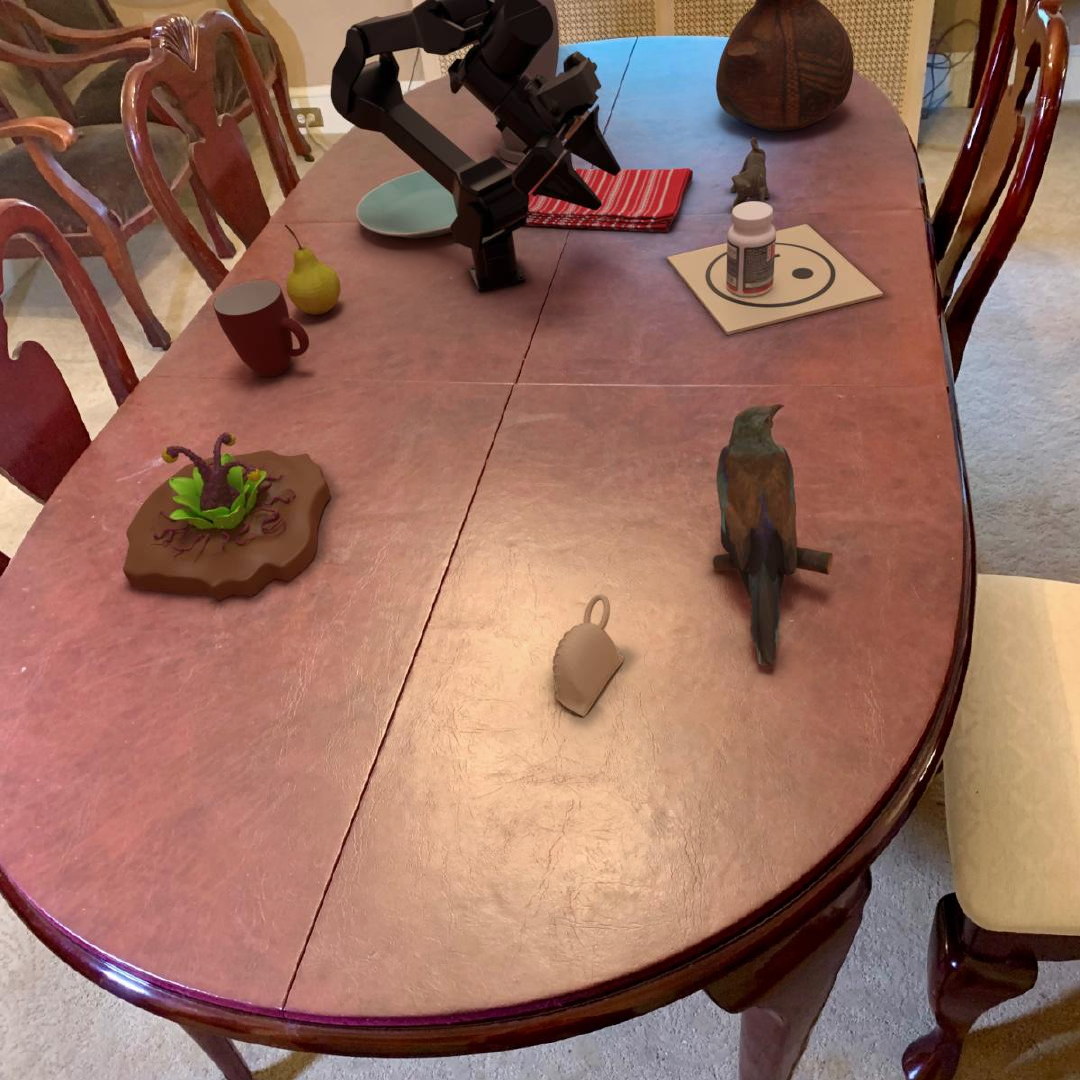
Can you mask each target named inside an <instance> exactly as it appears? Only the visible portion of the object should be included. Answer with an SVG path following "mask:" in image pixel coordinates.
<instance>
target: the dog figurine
mask: <svg viewBox="0 0 1080 1080" xmlns="http://www.w3.org/2000/svg"><path fill="white" fill-rule="evenodd" d="M750 146H751V148H752V149H751V150H750V151H749V153H748V154H747V156H745V159H744V162H743V165H742V168H741V169H740V171H738V174H735V175H733V176H732V177H731V181H732V183H733V185H732V186H731V187H730V192H731V193H735V192H736V193H737V195H736V197H735V199H734V200H733V204H732V206H731V208H730V211H731V212H732V211H733V208H734V207H735V206H737V205H739V204H741V203H744V202H747V200H748V198H749V199H754V198H755V197H756V196H758V198H759V199H758V202H763V203H765V199H770V198H771V194H770V192H769V188H768V185H767V184H768V183H767V182H768V181H767V166H766V159H767V158H766V152H765V150H764V149H762V148H760V146H759V142H758V140H757V138H756V137H755V136H752V137H751V138H750Z"/></svg>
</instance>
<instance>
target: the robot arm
mask: <svg viewBox="0 0 1080 1080" xmlns="http://www.w3.org/2000/svg"><path fill="white" fill-rule="evenodd" d="M552 33H553V20H552V17H551V14H550V12H549V10H548V9H547V7H546V6H545V5H542V4H541V3H540V2H539V1H538V0H423V1H422V2H421V3H419V4H417V5H416V6H415V7H414V8H412V9H411V10H406V11H403V12H402V11H401V12H398V13H394V14H390V15H386V16H378V15H377V16H376V15H375V16H372V17H370V18H367V19H365V20H363V21H362V20H361V21H360V22H357V23H354V24H352V25H351V26H350V28H349V29H347V30H346V34H345V41H344V42H345V44H344V47H343V49H342V51H341V53H340V55H339V56H338V58H337V60H336V62H335V63H334V65H333V68H332V69H331V80H330V82H331V83H330V91H329V92H330V94H329V95H330V100H331V103H332V105H333V108H334V109H335V111H336V112H337V113H338V114H339V115H340V116H341V117H342V118H343V119H344V120H345V121H347V122H349V123H350V124H351V125H353V126H354V127H356V128H358V129H360V130H363V131H370V132H375V133H381V134H382V135H384V137H386V138H387V139H388V140H390V141H391V142H392V143H393V144H394V145H395V146H396V147H397V148H399V150H401V151H402V152H403V153H404V154H405V155H407V157H408V158H410V159H411V160H412V161H413V162H414V163H416V164H417V166H419V167H420V168H421V169H422V170H425V171H426V172H427V173H428V174H429V175H431V176H432V177H433V178H434V179H435V180H436V181H437V182H439V183H440V184H441V185H442V186H443V187H444V188H445V189H447V190H448V191H449V192H450V193H451V194H452V195H453V199H454V203H455V208H456V212H457V215H458V216H457V217H456V219H455V220H454V222H453V223H452V224H451V226H450V229H451V232H450V233H451V234H452V236H453V239H454V242H455V243H456V244H458V245H460V246H463V247H466V248H468V249H470V250H471V256H472V257H471V258H472V262H473V266H471V267H469V275H470V276H471V278H472V281H473V282H474V285H475V287H476V289H477V291H478V292H479V293H484V292H489V291H493V290H497V289H500V288H506V287H509V286H510V287H511V286H513V285H518V284H522V283H525V282H526V276H525V274H524V273H523V271H522V269H521V267H520V265H519V263H518V261H517V255H516V248H515V247H516V246H515V240H514V232H515V231H517V230H519V229H520V228H523V227H525V226H527V225H526V219H527V212H528V206H529V194H530V192H531V191H532V189H533V188H534V187H535V186H536V184H537V186H536V188H535V189H534V191H533V192H532V195H533V196H536V195H541V196H546V197H550V198H554V199H558V200H562V201H565V202H569V203H572V204H575V205H579V206H582V207H585V208H588V209H591V210H595V211H597V210H598V209H599V208H600V207H601V205H602V202H601V201H600V200H599V198H598V197H597V196H596V194H595V193H594V192H593V191H592V189H591V188H590V187H589V186H588V185H587V184H586V182H585V181H584V180H583V179H582V178H581V176H580V175H579V174H578V173H577V172H576V171H575V170H574V169H575V168H574V166H573V158H572V155H574V156H576V157H578V158H580V159H581V160H583V161H584V162H587V163H589V164H590V165H593V166H594V167H596V168H598V169H601V170H603V171H605V172H607V173H609V174H611V175H613V176H616V175H617V174H618V173H619V172H620V170H621V169H622V168H621V166H620V164H619V162H618V161H617V159H616V157H615V155H614V153H613V152H612V150H611V148H610V146H609V144H608V143H607V141H606V138H605V137H604V135H603V133H602V131H601V129H600V127H599V112H600V104H596V103H597V101H598V99H599V97H600V96H598V94H597V91H598V90H600V89H602V84H601V82H600V80H599V78H598V75H597V74H596V72H597V70H598V64H597V63H596V62H593V61H592V60H591V58H590V57H589V56H588V57H586V56H585V55H584V54H582V53H581V52H580V51H578V50H577V51H574V52H573V53H571V54H569V55H567V57H566V58H565V59H564V60H563V63H562V65H563V71H560V72H559V73H558V74H557V75H556V77H555V78H553V79H552V80H550V81H548V80H547V79H546V78H545V77H544V76H542V75H541V74H539V75H538V74H536V75H535V76H534V77H533V79H532V78H531V77H530V76H529V75H528V74H527V73H526V72H525V71H526V70H527V68H528V67H529V66H530V65H531V63H532V62H533V61H534V59H535V58H536V57H537V55H538V54H539V53H540V51H541V50H542V49H543V47H544V46H545V45H546V43H547V42H548V41H549V39H550V38H551V36H552ZM476 42H479V43H480V44H478V45H475V46H473V44H474V43H476ZM469 46H472V47H470V48H469V50H467V52H466V53H465V55H464V56H463V58H456V59H454V61H453V62H452V63H451V65H450V66H448V68H447V73H448V77H449V88H450V92H451V93H452V94H453V95H456V94H458V92H459V91H460V90H461V89H462V88H463V87H464V89H466V90H467V91H468V92H469V93H470V94H471V95H472V96H473V97H475V99H477V100H478V102H480V103H481V104H482V105H483V106H484V107H485V108H486V109H487V110H488V111H489V112H490V113H491V114H492V115H493V116H494V117H495V116H496V117H497V118H498V119H499V122H498V123H497V122H496V124H495V126H494V127H495V128H496V129H497V130H498V131H499V132H500V131H501V132H502V131H503V130H504V129H505V128H506V127H507V128H508V129H509V130H510V131H511V132H512V133H513V134H515V135H516V136H517V137H518V138H519V139H520V140H521V141H522V142H523V143H524V144H525V145H526V147H525V148H524V150H523V151H522V152H523V153H524V154H525V156H524V158H523V159H522V160H521V161H520V163H517V165H516V167H515V168H514V170H513V169H511V168H509V167H508V166H507V165H506V164H505V162H503V161H502V160H501V159H500V158H498V157H496V156H495V155H492V156H490V157H488V158H486V159H483V160H482V161H479V162H477V161H476V160H474V159H473V158H472V157H470V155H468V154H467V153H465V151H463V150H462V149H461V148H460V147H459V146H457V145H456V144H455V143H454V142H452V140H451V139H449V138H448V137H447V136H446V135H445V134H443V133H442V131H440V130H439V129H437V127H435V126H434V125H433V124H432V123H430V122H429V121H428V120H427V119H426V118H425V117H424V116H422V115H421V114H420V113H419V112H418V111H417V110H416V109H414V108H413V107H412V106H410V105H409V104H408V102H406V100H405V99H404V95H403V90H402V86H401V85H402V84H401V82H400V80H399V75H400V69H401V68H400V65H399V63H398V61H397V58H396V57H395V55H394V53H397V52H400V51H407V50H412V49H422V50H423V51H424V52H425V53H426V54H431V55H438V56H448V55H450V54H452V53H455V52H457V51H460V50H462V49H465V48H468V47H469ZM375 56H379V57H378V60H375V61H372V62H368V63H367V59H370V58H373V57H375ZM524 72H525V74H524ZM523 74H524V75H523ZM522 75H523V76H522ZM520 78H521V79H520ZM519 79H520V80H519ZM595 104H596V106H595V107H594V108H593V106H594V105H595ZM498 106H499V107H498ZM497 107H498V108H497ZM592 108H593V109H592ZM590 109H592V110H591V111H590ZM495 110H496V111H495ZM494 111H495V112H494ZM501 132H500V133H501ZM564 140H566V141H565V142H564V143H563V141H564ZM564 151H566V152H565V153H564ZM563 153H564V154H563Z"/></svg>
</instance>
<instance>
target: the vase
mask: <svg viewBox="0 0 1080 1080" xmlns="http://www.w3.org/2000/svg"><path fill="white" fill-rule="evenodd" d="M538 1H539V2H540V3H541V4H542V5H545V6H546V7H547V9H548V10H549V12H550V14H551V17H552V20H553V33H552V36H551V38H550V39H549V41H548V42H547V43H546V45H545V46H544V47H543V49H542V50H541V51H540V53H539V54H538V55H537V57H536V58H535V59H534V61H533V62H532V63H531V65H530V66H529V67H528V68H527V70H526V71H525V72H526V73H527V74H528V75H529V76H530V77H531V78H532V79H533V77H534V76H535V75H536V74H538V75H539V74H541V75H542V76H544V77H545V78H546V79H547V80H548V81H550V80H552V79H553V78H555V77H557V72H558V71H557V70H558V63H559V54H560V53H559V52H560V32H559V21H558V20H559V19H558V13H557V8H556V3H555V0H538ZM478 44H480V43H479V42H476V43H474V44H472V47H473V46H475V45H478ZM525 72H524V74H525ZM524 74H523V75H524ZM523 75H522V76H523ZM520 79H521V78H520ZM520 79H519V80H520ZM498 107H499V106H498ZM498 107H497V108H498ZM495 111H496V110H495ZM495 111H494V112H495ZM494 112H493V113H494ZM494 118H495V121H496V124H497V123H498V122H499V119H498V118H497V117H496V116H494ZM499 132H500V135H501V138H499V140H498V141H497V148H498V154H499V156H500V158H502V159H503V160H504V161H508V162H509V163H513V164H519V163H520V161H521V160H522V159H523V158H524V156H525V154H524V153H523V152H522V151H523V150H524V148H525V147H526V145H525V144H524V143H523V142H522V141H521V140H520V139H519V138H518V137H517V136H516V135H515V134H513V133H512V132H511V131H510V130H509V129H508V128H507V127H506V128H505V129H504V130H503V131H502V132H501V131H500V130H499Z"/></svg>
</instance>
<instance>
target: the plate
mask: <svg viewBox="0 0 1080 1080" xmlns="http://www.w3.org/2000/svg"><path fill="white" fill-rule="evenodd" d="M457 216H458V215H457V212H456V208H455V203H454V199H453V195H452V194H451V193H450V192H449V191H448V190H447V189H445V188H444V187H443V186H442V185H441V184H440V183H439V182H437V181H436V180H435V179H434V178H433V177H432V176H431V175H429V174H428V173H427V172H426V171H425V170H424V169H421V170H417V171H413V172H409V173H406V174H402V175H400V176H397V177H394V178H392V179H390V180H387V181H385V182H383V183H382V184H380V185H378V186H376V187H375V188H373V189H371V190H370V191H369V192H367V193H366V194H365V195H364V196H363V197H362V198H361V199H360V200H359V202H358V204H357V205H356V208H355V217H356V220H357V221H358V223H359V224H360V225H361V226H362V227H363V228H364V229H366V230H368V231H371V232H373V233H376V234H380V235H382V236H383V235H384V236H392V237H399V238H400V237H401V238H407V239H424V238H426V239H427V238H433V237H437V236H441V235H442V236H443V235H446V234H449V233H452V232H451V229H450V226H451V224H452V223H453V222H454V220H455V219H456V217H457Z"/></svg>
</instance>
